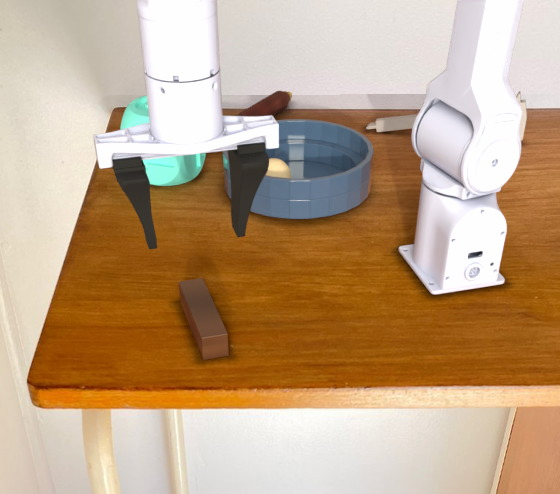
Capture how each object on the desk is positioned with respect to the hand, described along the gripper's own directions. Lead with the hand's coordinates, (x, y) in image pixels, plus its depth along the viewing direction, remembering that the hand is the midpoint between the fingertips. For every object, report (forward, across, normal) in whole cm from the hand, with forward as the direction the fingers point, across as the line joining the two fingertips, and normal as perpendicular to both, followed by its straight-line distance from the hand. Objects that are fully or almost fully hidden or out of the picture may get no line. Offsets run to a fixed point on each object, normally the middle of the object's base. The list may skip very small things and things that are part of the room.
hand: (195, 237), depth 73 cm
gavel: (+10, -17, -45) cm, 49 cm away
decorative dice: (+10, -3, -35) cm, 36 cm away
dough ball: (+7, -14, -25) cm, 29 cm away
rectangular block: (+9, 0, 0) cm, 9 cm away
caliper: (+10, -40, -36) cm, 55 cm away
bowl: (+9, -17, -26) cm, 32 cm away
